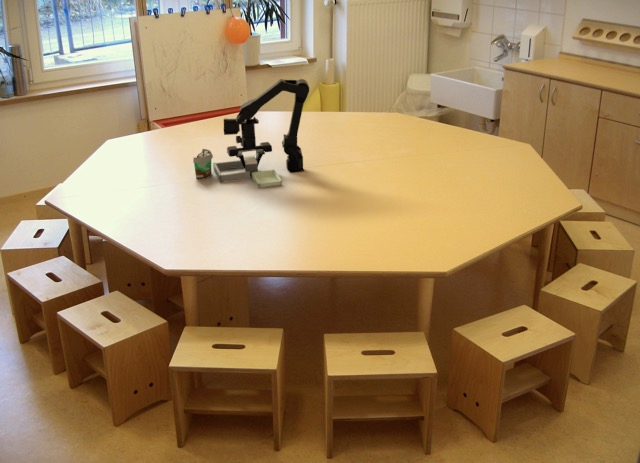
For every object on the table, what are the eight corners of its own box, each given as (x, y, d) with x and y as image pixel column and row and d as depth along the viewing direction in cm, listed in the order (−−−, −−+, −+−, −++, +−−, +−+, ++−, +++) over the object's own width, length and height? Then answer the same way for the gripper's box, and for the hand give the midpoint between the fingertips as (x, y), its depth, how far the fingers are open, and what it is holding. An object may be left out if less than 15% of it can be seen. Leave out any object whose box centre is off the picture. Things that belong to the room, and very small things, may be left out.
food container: (208, 181, 322) (206, 158, 318) (195, 180, 324) (192, 158, 319) (218, 170, 333) (216, 149, 329) (204, 170, 334) (202, 148, 330)
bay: (242, 166, 338) (242, 159, 337) (250, 178, 324) (249, 172, 323) (213, 169, 335) (213, 163, 333) (219, 182, 321) (219, 175, 320)
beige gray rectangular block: (255, 166, 336) (254, 155, 333) (258, 173, 328) (257, 162, 325) (243, 167, 335) (243, 156, 333) (246, 174, 327) (245, 163, 325)
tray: (274, 174, 329) (274, 169, 328) (282, 185, 316) (282, 181, 316) (251, 176, 326) (251, 172, 325) (258, 188, 314) (258, 184, 313)
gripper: (265, 125, 333) (267, 159, 340) (223, 130, 329) (226, 164, 335) (271, 133, 324) (273, 167, 330) (228, 138, 319) (230, 173, 326)
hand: (250, 167), depth 331 cm, fingers closed on beige gray rectangular block, 5 cm apart
